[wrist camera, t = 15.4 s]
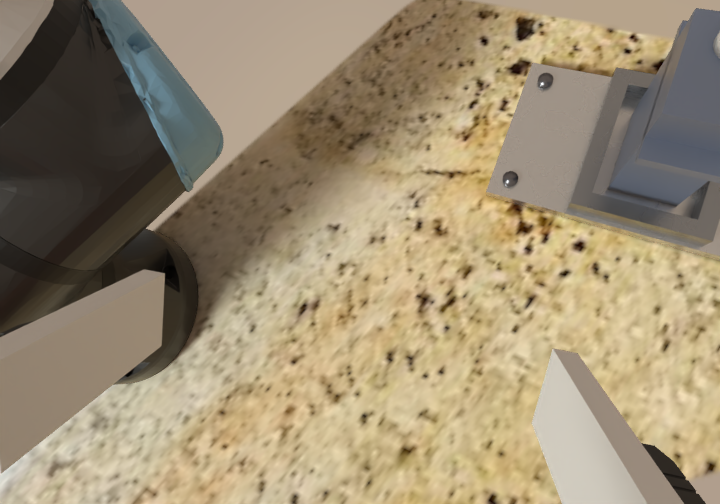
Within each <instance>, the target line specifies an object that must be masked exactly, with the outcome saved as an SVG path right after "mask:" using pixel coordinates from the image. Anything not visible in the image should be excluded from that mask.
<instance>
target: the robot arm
mask: <svg viewBox="0 0 720 504" xmlns="http://www.w3.org/2000/svg"><path fill="white" fill-rule="evenodd" d="M222 148H223V135H222V131H221V129H220V127H219V125H218V124H217V122H216V121H215V119H214V118H213V116H212V115H211V114H210V112H209V111H208V109H207V108H206V107H205V106H204V104H203V103H202V102H201V100H200V99H199V97H198V96H197V95H196V94H195V92H194V91H193V90H192V88H191V87H190V86H189V84H188V83H187V82H186V81H185V79H184V78H183V77H182V76H181V74H180V73H179V72H178V70H177V69H176V68H175V67H174V65H173V64H172V63H171V61H170V60H169V59H168V58H167V56H166V55H165V54H164V52H163V51H162V50H161V49H160V47H159V46H158V45H157V44H156V42H155V41H154V40H153V38H152V37H151V36H150V35H149V33H148V32H147V31H146V30H145V29H144V27H143V26H142V25H141V24H140V22H139V21H138V20H137V19H136V17H135V16H134V15H133V14H132V13H131V11H130V10H129V9H128V8H127V7H126V6H125V5H124V3H123V2H122V1H121V0H0V473H2V472H4V471H5V470H6V469H7V468H9V467H10V466H11V465H12V464H14V463H15V462H16V461H17V460H19V459H20V458H21V457H22V456H24V455H25V454H26V453H27V452H29V451H30V450H31V449H32V448H34V447H35V446H36V445H37V444H39V443H40V442H41V441H43V440H44V439H45V438H46V437H48V436H49V435H50V434H51V433H53V432H54V431H55V430H56V429H58V428H59V427H60V426H61V425H63V424H64V423H65V422H66V421H68V420H69V419H70V418H71V417H73V416H74V415H75V414H76V413H78V412H79V411H80V410H82V409H83V408H84V407H85V406H87V405H88V404H89V403H90V402H92V401H93V400H94V399H95V398H97V397H98V396H99V395H100V394H102V393H103V392H104V391H105V390H107V389H108V388H109V387H110V386H112V385H115V384H128V383H135V382H139V381H142V380H145V379H147V378H149V377H151V376H153V375H155V374H157V373H158V372H160V371H161V370H162V369H164V368H165V367H166V366H167V365H168V364H169V363H170V362H171V361H172V360H173V359H174V358H175V357H176V356H177V354H178V353H179V352H180V350H181V349H182V347H183V346H184V344H185V342H186V341H187V339H188V337H189V334H190V332H191V330H192V327H193V324H194V320H195V316H196V311H197V304H198V289H197V281H196V276H195V273H194V269H193V267H192V264H191V262H190V260H189V259H188V257H187V255H186V254H185V252H184V251H183V250H182V249H181V248H180V247H179V246H178V245H177V244H176V243H175V242H174V241H173V240H171V239H170V238H168V237H166V236H164V235H162V234H159V233H156V232H154V231H151V230H148V229H145V228H146V227H147V226H148V225H149V224H150V223H152V222H153V221H154V220H155V219H156V218H157V217H158V216H159V215H160V214H161V213H162V212H163V211H164V210H165V209H166V208H168V207H169V206H170V205H171V204H172V203H173V202H174V201H175V200H176V199H177V198H178V197H179V196H180V195H181V194H182V193H183V192H184V191H187V192H189V191H191V190H192V188H193V183H194V182H195V181H196V180H197V179H198V178H199V177H200V176H201V175H202V174H203V173H204V172H205V171H206V169H208V168H209V167H210V166H211V165H212V164H213V163H214V161H215V160H216V159H217V158H218V157H219V155H220V154H221V151H222ZM532 425H533V428H534V430H535V433H536V436H537V438H538V441H539V444H540V446H541V449H542V452H543V454H544V457H545V459H546V462H547V465H548V467H549V470H550V473H551V475H552V478H553V481H554V483H555V486H556V489H557V491H558V494H559V497H560V499H561V502H562V504H706V503H705V502H704V501H703V500H702V498H701V497H700V495H699V494H696V490H695V489H694V488H693V486H692V485H691V484H690V482H689V481H688V480H686V477H685V476H684V475H683V473H682V472H681V471H680V469H679V468H678V467H677V465H676V464H675V463H674V462H673V461H672V460H671V459H670V458H669V457H667V456H666V455H665V454H664V453H662V452H661V451H660V450H659V449H657V448H656V447H655V446H652V445H647V444H643V443H641V442H640V441H639V439H638V438H637V437H636V435H635V434H634V432H633V431H632V430H631V428H630V427H629V425H628V424H627V422H626V421H625V420H624V418H623V417H622V415H621V414H620V413H619V411H618V410H617V408H616V407H615V406H614V404H613V403H612V401H611V400H610V399H609V397H608V396H607V394H606V393H605V391H604V390H603V389H602V387H601V386H600V384H599V383H598V382H597V380H596V379H595V377H594V376H593V375H592V373H591V372H590V370H589V369H588V367H587V366H586V365H585V363H584V362H583V360H582V359H581V358H580V356H579V355H578V353H573V352H568V351H563V350H558V349H553V350H552V353H551V357H550V360H549V364H548V368H547V371H546V375H545V378H544V382H543V385H542V389H541V392H540V396H539V399H538V403H537V406H536V410H535V414H534V417H533V421H532Z"/></svg>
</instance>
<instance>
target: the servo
mask: <svg viewBox="0 0 720 504" xmlns="http://www.w3.org/2000/svg"><path fill="white" fill-rule="evenodd" d="M708 181H711V182H716V183H720V11H713V10H705V9H698V8H696V9H695V10H694V12H693V14H692V15H691V17H690V19H689V21H682V23H681V25H680V26H679V28H678V31H677V34H676V37H675V40H674V43H673V46H672V49H671V51H670V52H669V54H668V56H667V57H666V59H665V61H664V62H663V64H662V66H661V67H660V69H659V71H658V72H657V74H656V76H655V77H654V79H653V81H652V82H651V84H650V86H649V87H648V89H647V91H646V92H645V94H644V96H643V97H642V99H641V101H640V102H639V104H638V106H637V107H636V109H635V111H634V112H633V114H632V116H631V119H630V122H629V125H628V128H627V131H626V134H625V137H624V141H623V144H622V147H621V150H620V153H619V156H618V159H617V162H616V165H615V168H614V171H613V174H612V177H611V180H610V183H609V186H608V189H610V190H614V191H618V192H621V193H625V194H629V195H633V196H637V197H641V198H645V199H649V200H653V201H657V202H661V203H665V204H669V205H673V206H677V205H679V204H680V203H681V202H683V201H684V200H685V199H686V198H688V197H689V196H690V195H691V194H693V193H694V192H695V191H696V190H698V189H699V188H700V187H702V186H703V185H704V184H705V183H707V182H708Z"/></svg>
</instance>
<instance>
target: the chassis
mask: <svg viewBox="0 0 720 504" xmlns="http://www.w3.org/2000/svg"><path fill="white" fill-rule="evenodd" d="M655 76H656V74H650V73H644V72H639V71H633V70H627V69H622V68H616V69H615V71H614V74H613V76H612V77H608V76H603V75H597V74H592V73H586V72H581V71H575V70H570V69H564V68H559V67H553V66H548V65H542V64H537V63H532V66H531V69H530V72H529V74H528V77H527V80H526V83H525V85H524V88H523V91H522V94H521V97H520V99H519V102H518V105H517V108H516V110H515V113H514V116H513V119H512V121H511V124H510V127H509V130H508V132H507V135H506V138H505V141H504V144H503V146H502V149H501V152H500V155H499V157H498V160H497V163H496V166H495V168H494V171H493V174H492V177H491V180H490V182H489V185H488V188H487V191H486V196H490V197H493V198H497V199H500V200H504V201H508V202H511V203H515V204H518V205H522V206H525V207H529V208H533V209H536V210H540V211H543V212H547V213H551V214H554V215H558V216H561V217H565V218H569V219H572V220H576V221H579V222H583V223H586V224H590V225H594V226H597V227H601V228H604V229H608V230H612V231H615V232H619V233H622V234H626V235H629V236H633V237H637V238H640V239H644V240H647V241H651V242H655V243H658V244H662V245H665V246H669V247H673V248H676V249H680V250H683V251H687V252H690V253H694V254H698V255H701V256H705V257H708V258H712V259H716V260H719V261H720V183H716V182H711V181H708V182H707V183H705V184H704V185H703V186H702V187H700V188H699V189H698V190H696V191H695V192H694V193H693V194H691V195H690V196H689V197H688V198H686V199H685V200H684V201H683V202H681V203H680V204H679V205H677V206H673V205H669V204H665V203H661V202H657V201H653V200H649V199H645V198H641V197H637V196H633V195H629V194H625V193H621V192H618V191H614V190H610V189H608V186H609V183H610V180H611V177H612V174H613V171H614V168H615V165H616V162H617V159H618V156H619V153H620V150H621V147H622V144H623V141H624V137H625V134H626V131H627V128H628V125H629V122H630V119H631V116H632V114H633V112H634V111H635V109H636V107H637V106H638V104H639V102H640V101H641V99H642V97H643V96H644V94H645V92H646V91H647V89H648V87H649V86H650V84H651V82H652V81H653V79H654V77H655Z"/></svg>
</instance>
